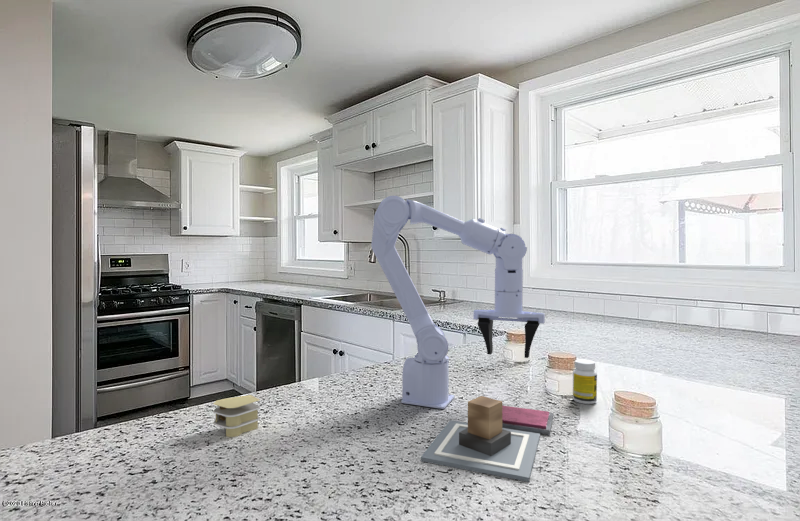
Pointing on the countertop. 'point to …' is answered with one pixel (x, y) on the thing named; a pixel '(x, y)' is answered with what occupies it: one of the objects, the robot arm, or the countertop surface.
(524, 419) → the ink pad
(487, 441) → the stamp
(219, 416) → the yellow white layered block
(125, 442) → the countertop surface
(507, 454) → the marked board
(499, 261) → the robot arm
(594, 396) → the supplement bottle
